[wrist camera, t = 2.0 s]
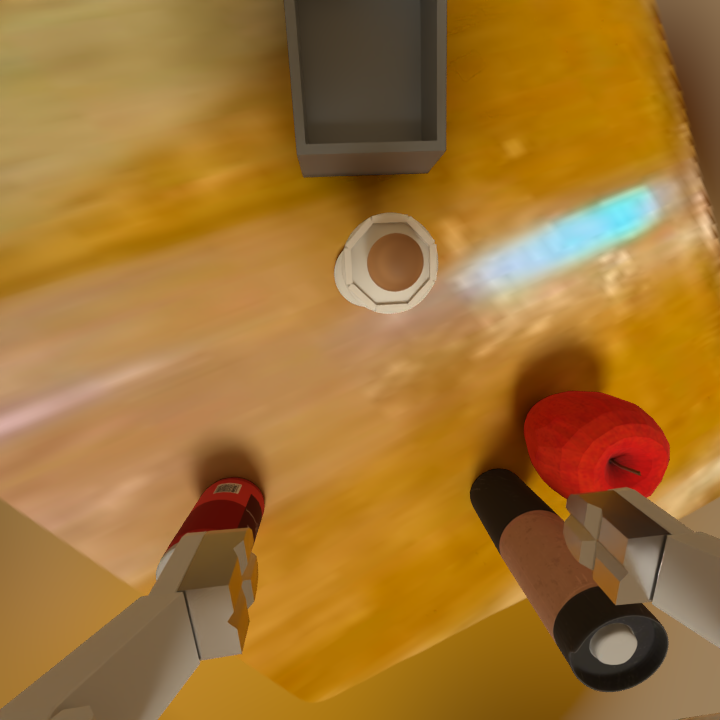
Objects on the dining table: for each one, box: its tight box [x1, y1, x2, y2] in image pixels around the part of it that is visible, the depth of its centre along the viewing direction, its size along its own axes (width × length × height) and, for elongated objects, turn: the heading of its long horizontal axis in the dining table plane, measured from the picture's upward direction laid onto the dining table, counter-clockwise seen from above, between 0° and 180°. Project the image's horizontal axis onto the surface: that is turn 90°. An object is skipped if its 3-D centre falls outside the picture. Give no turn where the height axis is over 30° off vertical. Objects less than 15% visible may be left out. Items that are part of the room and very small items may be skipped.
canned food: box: [156, 477, 264, 581], centre depth 36 cm, size 8×8×11 cm
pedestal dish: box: [334, 213, 438, 314], centre depth 28 cm, size 7×7×17 cm
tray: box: [284, 0, 447, 177], centre depth 30 cm, size 13×18×6 cm
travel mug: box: [470, 469, 668, 692], centre depth 34 cm, size 8×8×20 cm
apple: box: [524, 391, 670, 499], centre depth 36 cm, size 12×12×13 cm
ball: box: [367, 233, 424, 292], centre depth 19 cm, size 3×3×3 cm
